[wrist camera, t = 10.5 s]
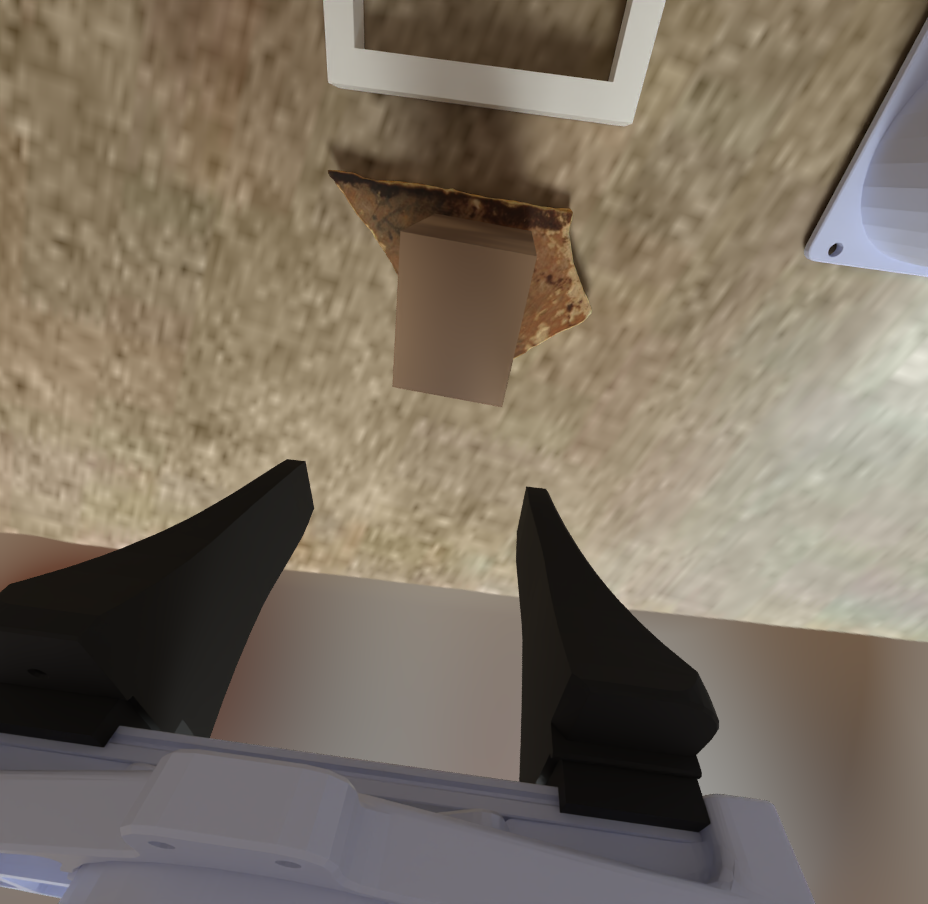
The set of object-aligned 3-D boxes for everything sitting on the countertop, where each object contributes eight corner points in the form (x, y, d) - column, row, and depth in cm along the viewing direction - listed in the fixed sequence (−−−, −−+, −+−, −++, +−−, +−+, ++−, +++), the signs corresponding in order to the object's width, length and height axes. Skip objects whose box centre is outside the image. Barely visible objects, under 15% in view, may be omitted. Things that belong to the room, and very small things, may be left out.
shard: (338, 171, 18) (323, 170, 16) (489, 32, 15) (487, 16, 13) (472, 372, 22) (470, 386, 21) (607, 296, 20) (615, 306, 18)
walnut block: (531, 231, 17) (536, 256, 12) (506, 347, 20) (501, 407, 15) (435, 213, 17) (400, 231, 12) (424, 332, 20) (392, 386, 15)
